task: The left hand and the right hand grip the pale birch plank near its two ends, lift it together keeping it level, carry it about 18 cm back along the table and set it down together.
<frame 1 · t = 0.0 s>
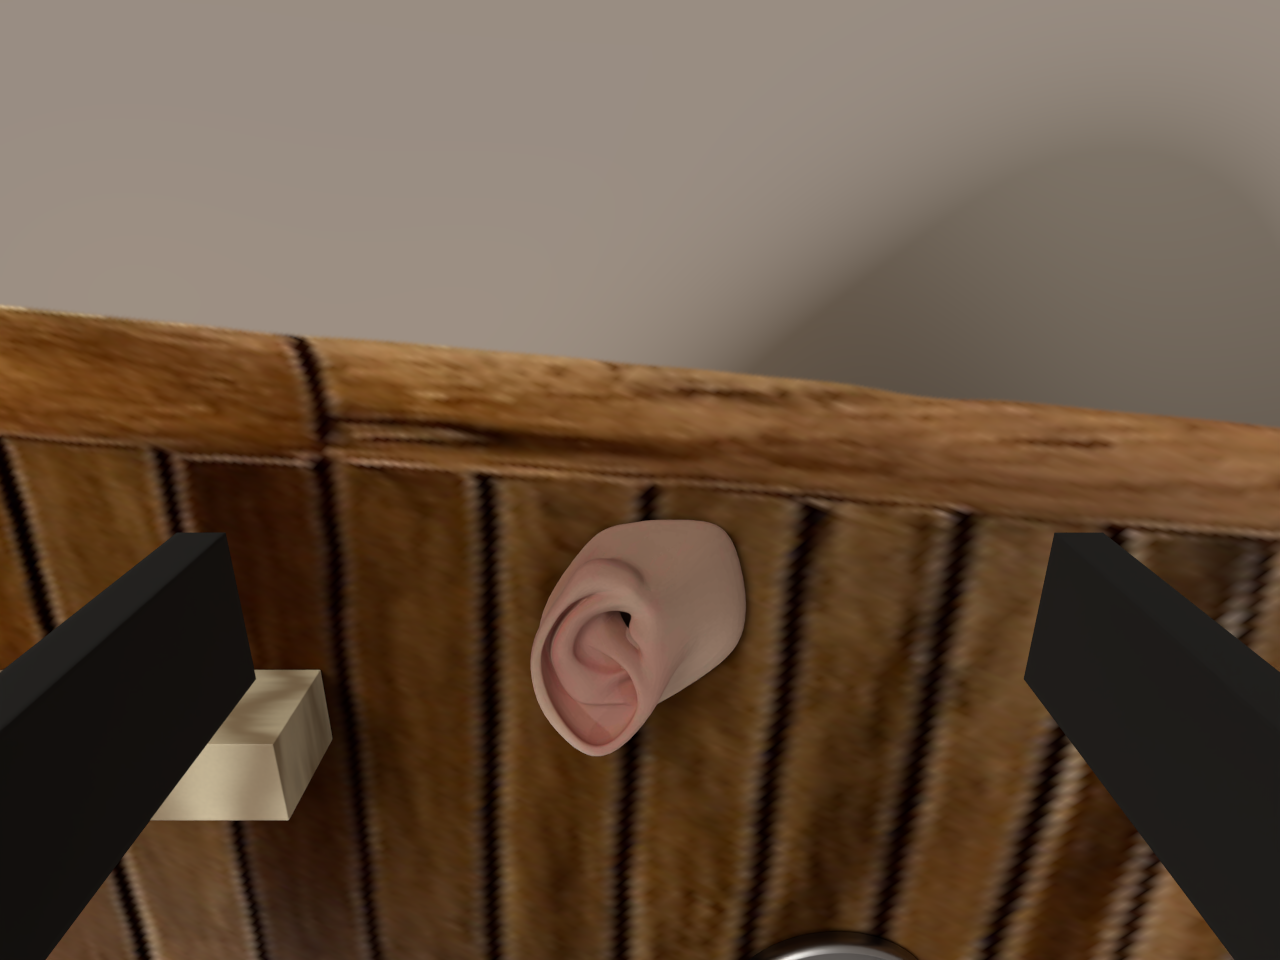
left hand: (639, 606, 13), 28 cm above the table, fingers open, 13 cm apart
anatomical model: (639, 614, 45), on the table
birch plank: (25, 704, 47), on the table
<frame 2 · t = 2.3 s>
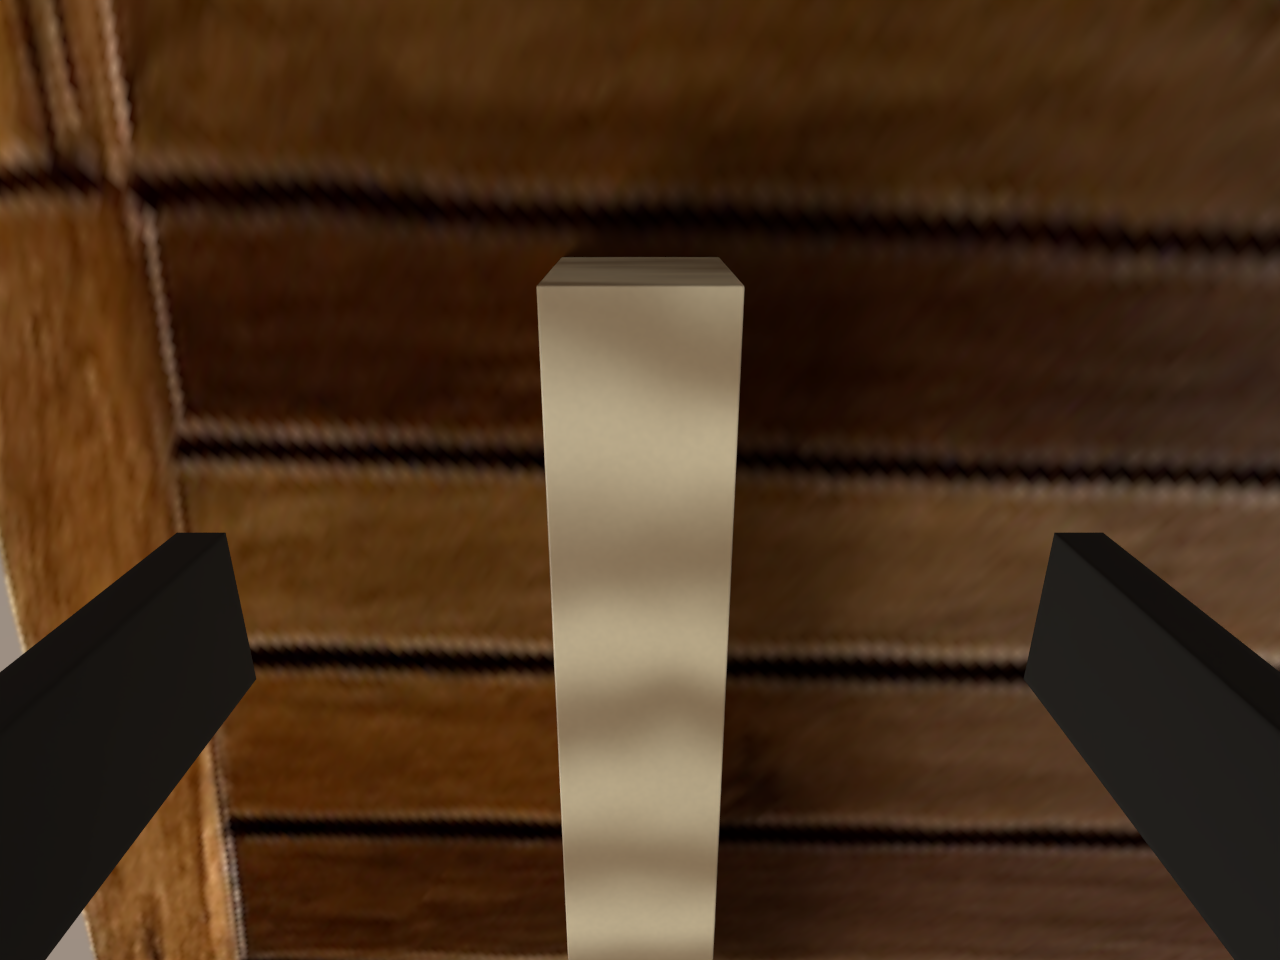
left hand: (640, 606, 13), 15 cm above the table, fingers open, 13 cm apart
birch plank: (640, 723, 32), on the table
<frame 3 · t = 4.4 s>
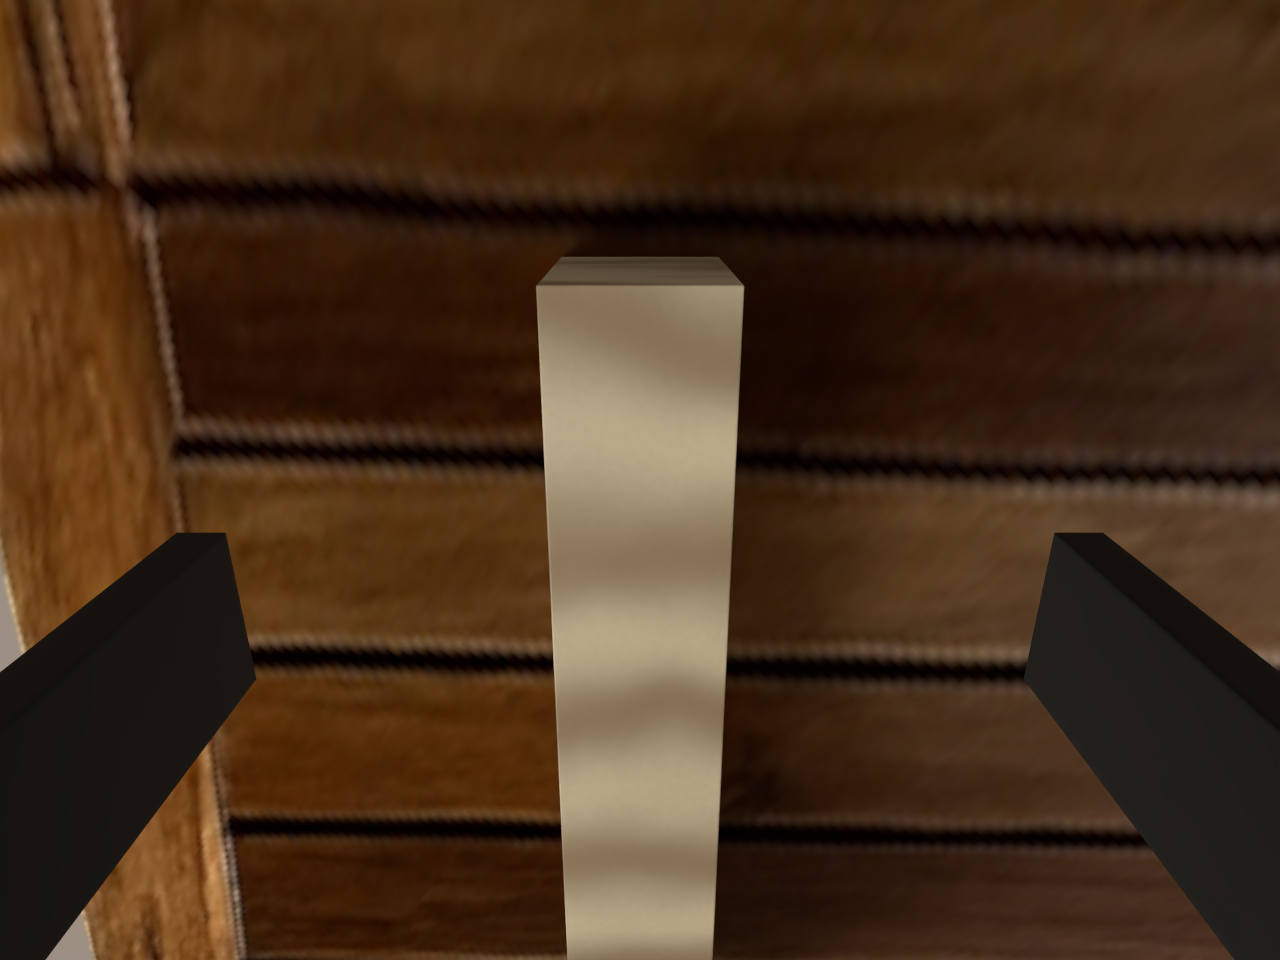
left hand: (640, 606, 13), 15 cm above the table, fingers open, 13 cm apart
birch plank: (640, 723, 32), on the table, touching right hand
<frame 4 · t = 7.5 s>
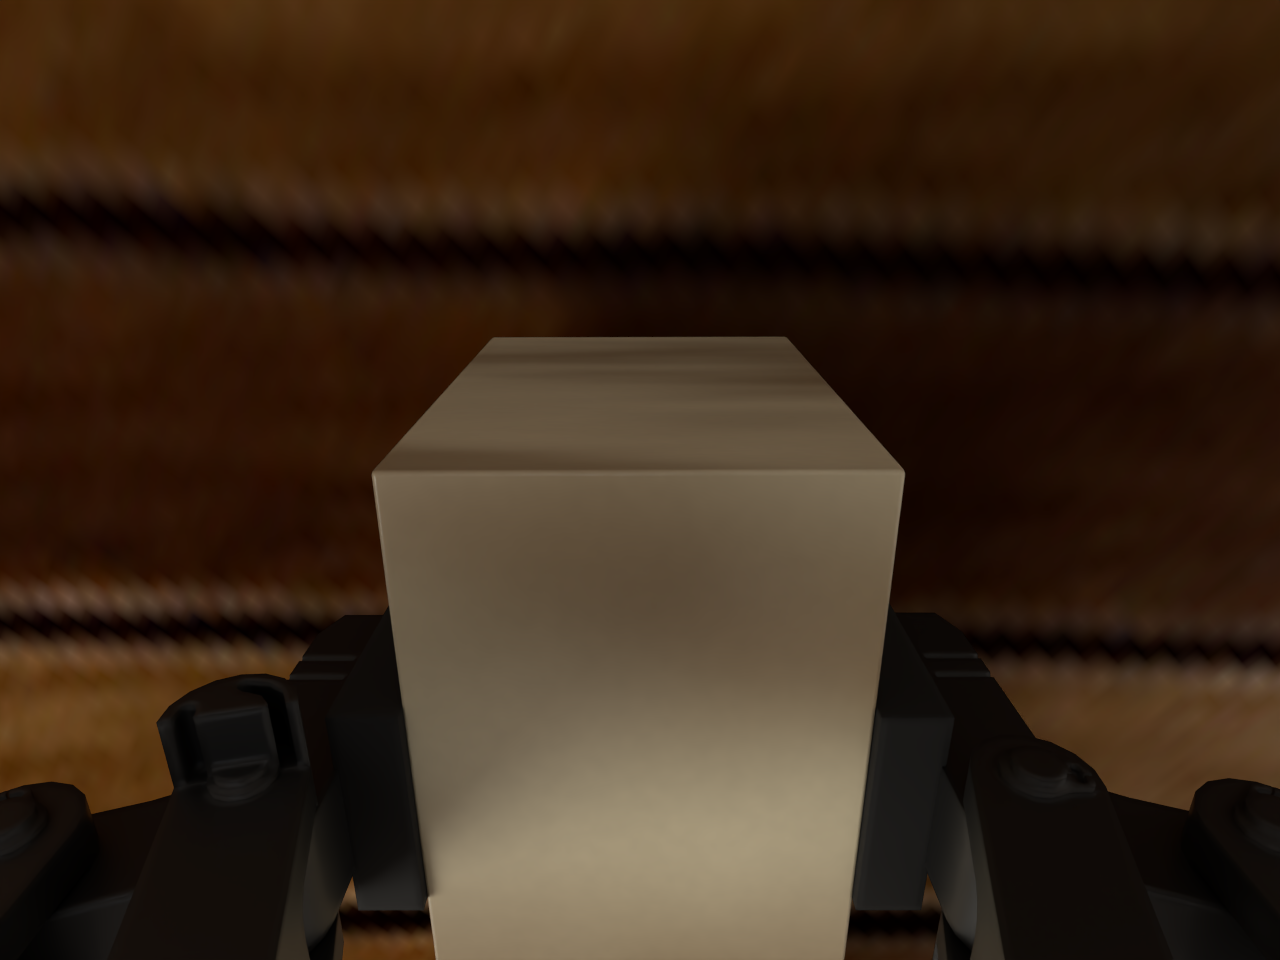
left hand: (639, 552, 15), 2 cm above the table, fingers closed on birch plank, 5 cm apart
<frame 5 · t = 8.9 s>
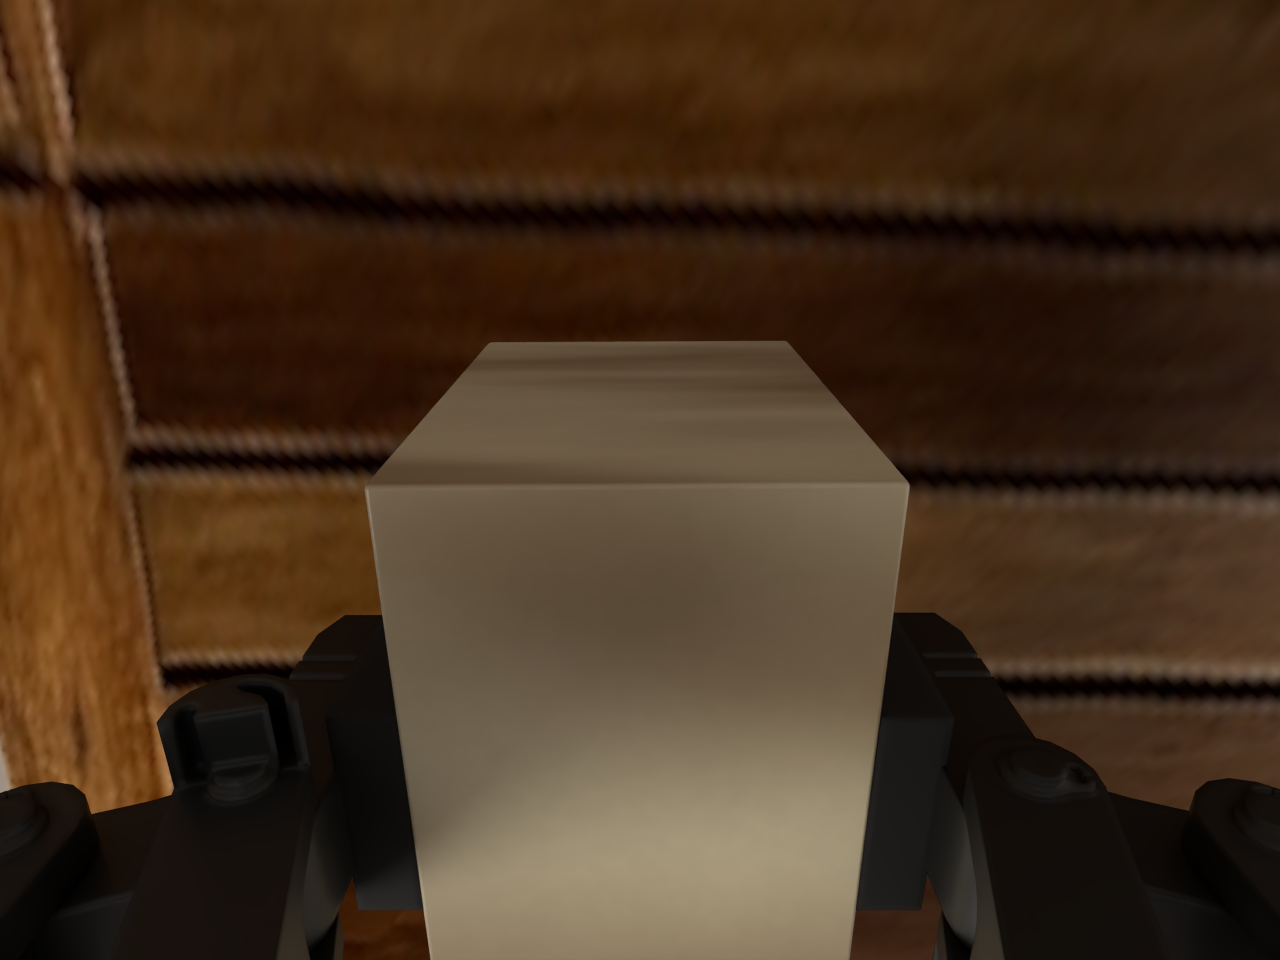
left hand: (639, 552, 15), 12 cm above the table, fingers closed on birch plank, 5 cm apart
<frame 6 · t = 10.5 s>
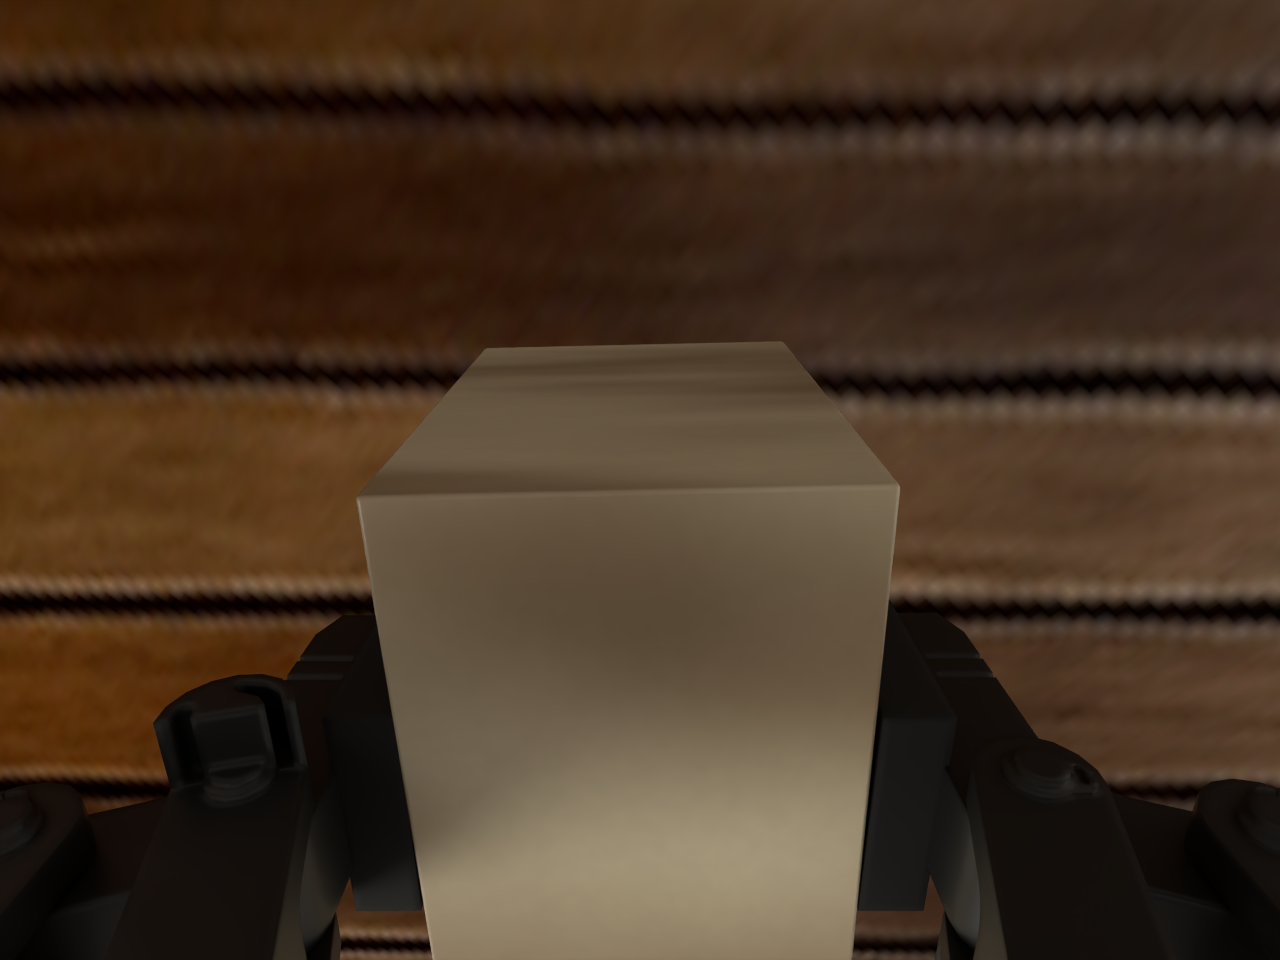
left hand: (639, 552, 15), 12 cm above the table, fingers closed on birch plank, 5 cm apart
when the left hand's fingers open (0 cm above the table, at t = 13.4 s): birch plank stays where it is, on the table.
when the right hand's fingers open (2 cm above the table, at t = 13.5 s): birch plank stays where it is, on the table.
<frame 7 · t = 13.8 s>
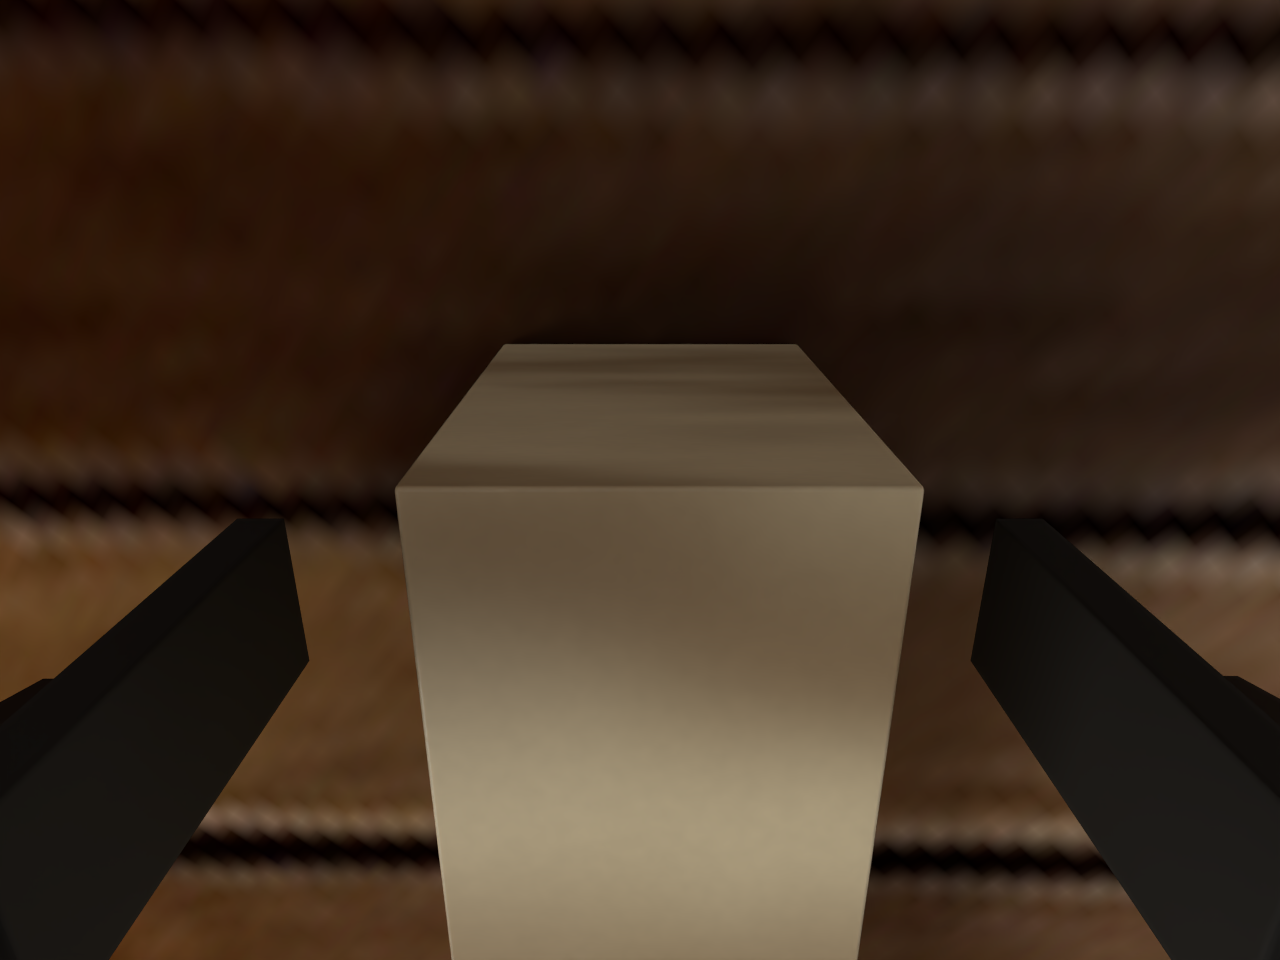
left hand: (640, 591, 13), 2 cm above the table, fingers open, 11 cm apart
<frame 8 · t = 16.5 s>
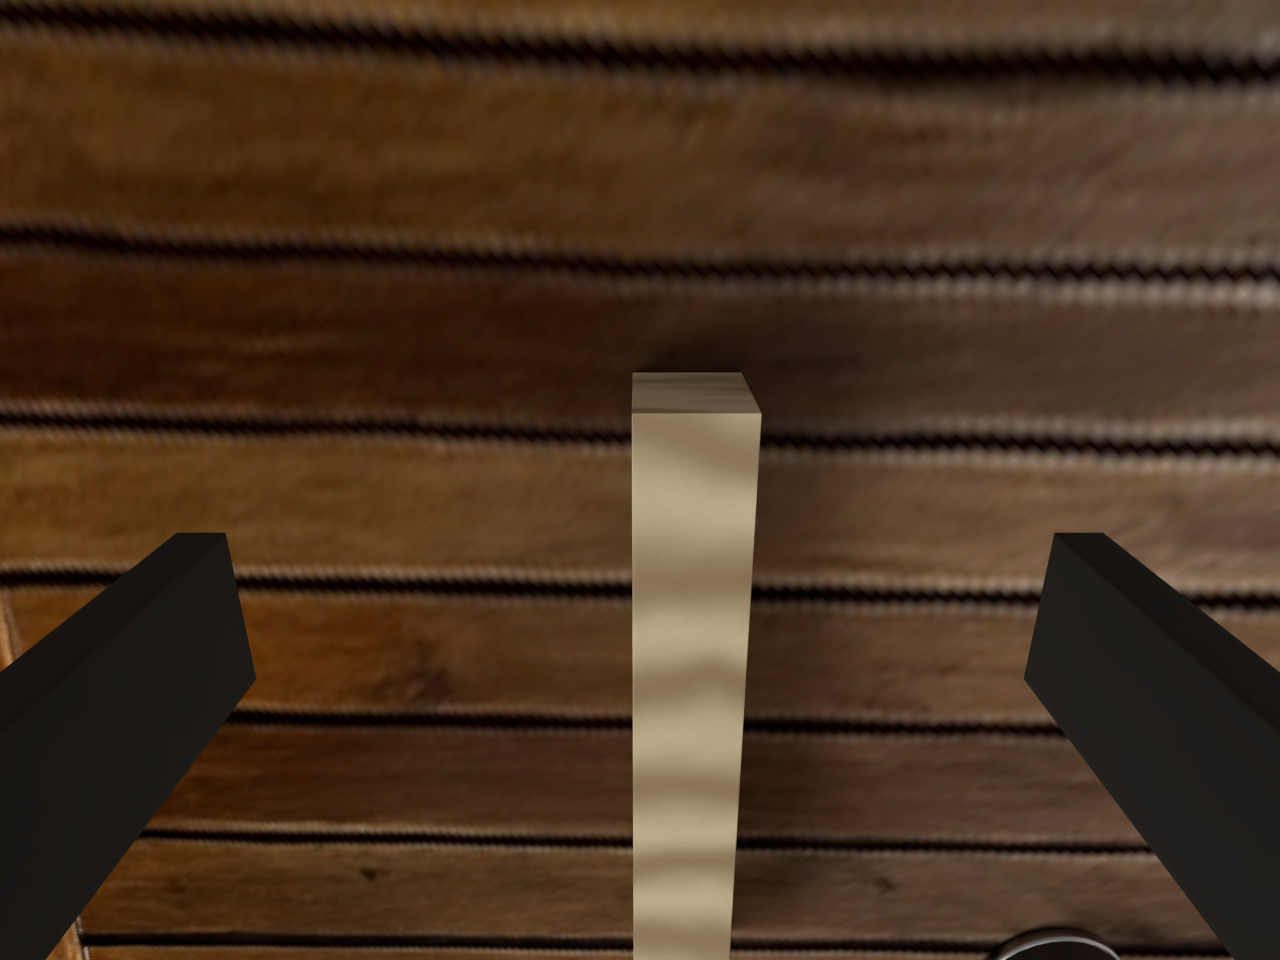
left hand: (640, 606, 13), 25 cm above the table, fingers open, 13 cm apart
birch plank: (679, 696, 43), on the table
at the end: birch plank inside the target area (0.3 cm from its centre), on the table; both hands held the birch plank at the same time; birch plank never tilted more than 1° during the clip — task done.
